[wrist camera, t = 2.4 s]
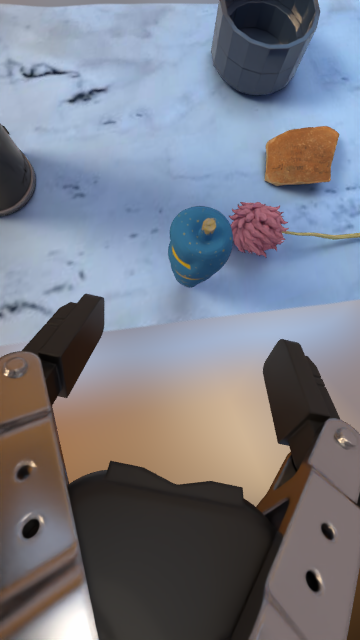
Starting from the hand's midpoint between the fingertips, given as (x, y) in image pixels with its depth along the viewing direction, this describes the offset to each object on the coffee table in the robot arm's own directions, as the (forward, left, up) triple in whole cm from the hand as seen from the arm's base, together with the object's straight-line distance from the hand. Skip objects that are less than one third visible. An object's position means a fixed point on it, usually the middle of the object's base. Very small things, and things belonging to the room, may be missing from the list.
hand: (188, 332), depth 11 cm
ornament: (+3, +7, -19) cm, 20 cm away
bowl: (+17, +38, -19) cm, 46 cm away
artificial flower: (+20, +11, -19) cm, 30 cm away
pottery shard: (+21, +23, -19) cm, 36 cm away
